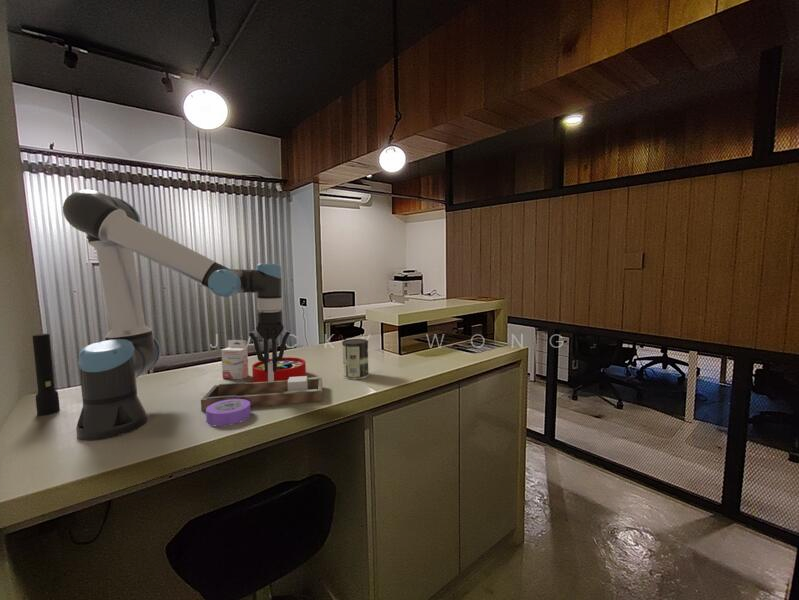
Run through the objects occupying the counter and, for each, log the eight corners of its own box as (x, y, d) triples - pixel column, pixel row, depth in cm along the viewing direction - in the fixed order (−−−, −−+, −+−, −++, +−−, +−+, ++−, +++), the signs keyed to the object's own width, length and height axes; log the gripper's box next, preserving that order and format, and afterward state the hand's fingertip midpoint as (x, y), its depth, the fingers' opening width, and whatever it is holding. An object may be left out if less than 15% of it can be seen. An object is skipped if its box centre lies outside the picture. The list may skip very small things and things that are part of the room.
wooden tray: (201, 411, 111) (200, 399, 111) (215, 395, 125) (214, 384, 125) (322, 401, 118) (321, 390, 118) (322, 387, 132) (322, 376, 132)
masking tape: (238, 407, 114) (238, 395, 114) (258, 416, 107) (257, 404, 107) (199, 419, 106) (198, 406, 105) (218, 430, 98) (217, 417, 98)
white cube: (307, 392, 127) (307, 375, 127) (306, 398, 121) (306, 381, 121) (289, 394, 126) (289, 377, 125) (288, 400, 120) (287, 382, 119)
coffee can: (364, 371, 153) (364, 337, 151) (372, 377, 143) (371, 342, 142) (340, 373, 149) (339, 339, 147) (346, 381, 139) (345, 344, 138)
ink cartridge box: (222, 379, 143) (219, 342, 142) (229, 375, 148) (227, 339, 147) (242, 379, 142) (240, 342, 141) (249, 375, 147) (247, 339, 146)
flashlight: (34, 413, 111) (40, 416, 108) (26, 335, 108) (32, 336, 106) (55, 407, 115) (62, 410, 112) (48, 332, 113) (55, 333, 110)
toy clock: (241, 365, 142) (284, 355, 158) (242, 380, 142) (284, 368, 159) (273, 373, 130) (316, 361, 147) (274, 389, 131) (316, 375, 147)
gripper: (291, 309, 124) (292, 376, 126) (251, 309, 122) (252, 378, 124) (289, 311, 117) (290, 383, 119) (246, 312, 114) (247, 385, 116)
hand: (271, 381), depth 121 cm, fingers closed
